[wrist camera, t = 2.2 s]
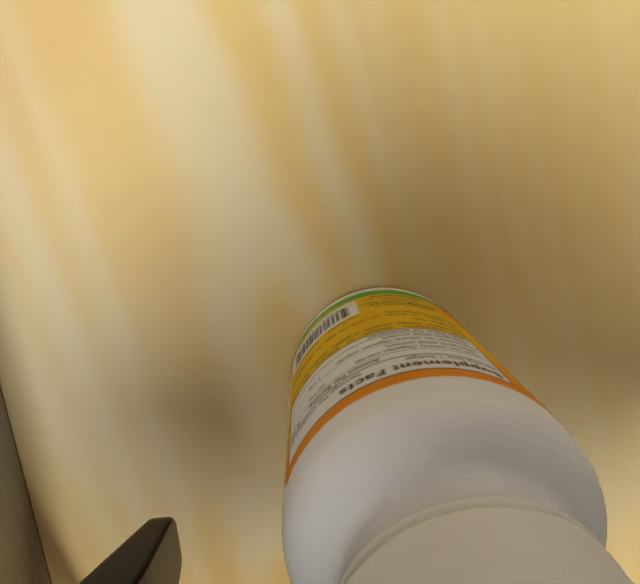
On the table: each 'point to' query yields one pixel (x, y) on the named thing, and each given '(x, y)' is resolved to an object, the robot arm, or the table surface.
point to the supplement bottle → (428, 459)
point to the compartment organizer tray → (17, 518)
